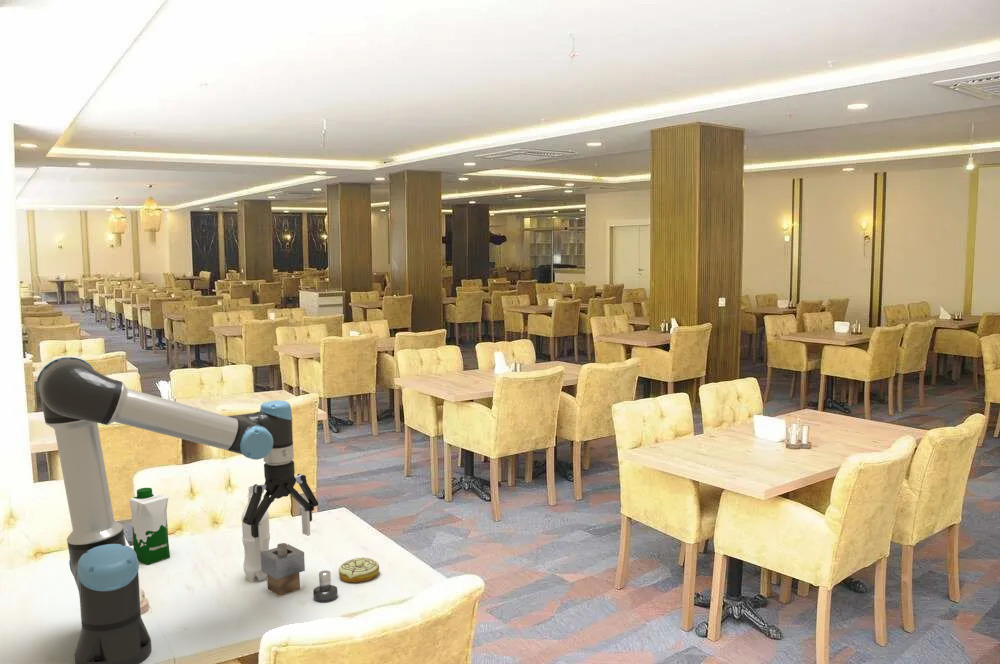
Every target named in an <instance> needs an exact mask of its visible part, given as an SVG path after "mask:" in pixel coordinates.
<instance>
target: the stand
mask: <svg viewBox="0 0 1000 664" xmlns="http://www.w3.org/2000/svg"><path fill="white" fill-rule="evenodd" d="M287 544H288V543H285V542H280V543H278V544H277V545H276V548H277V550H278V556H282V555H286V554H287ZM300 576H301V575H300V572H299V573H296V574H293V575H290V576H287V577H284V578H281V579H278V580H276V579H275V578H273V577H271V576H269V575H268V574H267V577H266V581H267V582H266V583H267V590H268V591H269V592H271V593H272V594H275V595H277V596H278V597H282V596H284V595H287V594H290V593H292V592H296V591H298V590H301V580H300V578H301V577H300Z"/></svg>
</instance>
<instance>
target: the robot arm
mask: <svg viewBox="0 0 1000 664" xmlns="http://www.w3.org/2000/svg"><path fill="white" fill-rule="evenodd" d="M36 389H37V392H38V394H39V396H40V400H41V401H40V402H41V407H42V412H43V418H44V424H46V425H47V426H49V427H50V428H51V429H52V428H53V430H54V434H55V438H56V445H57V451H58V455H59V461H60V466H61V472H62V473H61V474H62V478H63V484H64V489H65V495H66V500H67V506H68V511H69V516H70V522H71V527H72V531H71V532H70V533H69V535H68V536H67V538H66V542H67V548H68V553H69V562H68V564H69V568H70V572H71V575H72V576H73V579H74V581H75V584H76V586H77V587H76V588H77V590H78V595H79V607H80V609H79V610H80V620H81V621H80V622H81V623H80V624H81V630H80V634H79V637H78V641H77V644H76V647H75V651H74V657H73V659H74V664H140V663H141V662H143V661H144V660H146V659H147V658H148V657H149V655H150V654H151V653H152V640H151V639H152V638H151V637H150V634H149V631H148V629H147V627H146V625H145V623H144V621H143V618H142V615H141V614H142V613H141V597H140V595H141V594H140V580H139V570H140V562H139V561H138V559H137V554H136V552H135V551H134V548H133V547H131V546H128V545H127V543H126V538H125V532H124V527H123V524H121V523H120V522H118V521H116V520H115V517H114V511H113V507H112V506H113V505H112V501H111V495H110V494H111V493H110V490H109V489H110V487H109V482H108V477H107V471H106V465H105V464H106V463H105V459H104V453H103V447H102V443H101V442H102V441H101V436H100V430H99V425H98V424H101V425H105V426H108V425H111V424H113V423H116V424H120V425H121V424H122V425H124V426H130V427H134V428H138V429H140V430H141V429H142V430H145V431H149V432H153V433H157V434H161V435H165V436H168V437H169V436H170V437H173V438H177V439H181V440H185V441H190V442H192V443H197V444H201V445H205V446H208V447H212V448H217V449H220V450H225V451H229V452H232V453H235V454H239V455H243V456H244V457H246V458H247V459H250V460H257V461H258V460H261V459H263V462H264V464H263V473H264V475H263V476H264V480H265V481H264V483H263V484H257V483H256V484H253V485H252V486H253V495H252V497H251V500H250V503H249V505H248V508H247V511H246V513H245V516H244V519H243V522H244V523H245V524H248V525H251V535H252V537H254V538H255V548H257V549H259V550H263V539H262V525H261V524H259V522H260V521H261V519H262V517H263V516H264V514H265V513H266V511H267V510H268V509H269V508H270V506H271V504H272V503H273V502H274V501H275V499H277V500H278V499H281V498H285V497H286V498H287V497H288V496H289V495H290V496H291V497H292V498H293V499H294V500H295V501H297V503H299V505H301V506H302V509H300V510H301V512H300V513H301V529H302V534H303V535H305V536H311V522H312V520H313V511H314V510H315V507H318V506H319V502H318V500H317V498H316V496H315V494H314V493H313V491H312V490H311V487H310V486H309V485H308V482H307V481H308V480H307V477H306V475H305V474H302V473H297V475H296V476H295V473H296V472H295V461H294V458H295V455H294V454H295V453H294V441H293V438H294V437H293V435H294V434H293V413H292V408H291V404H290V402H288V401H286V400H270V401H266V402H263V403H262V404H261V405H260V409H259V411H256V412H251V413H250V412H249V413H242V414H234V415H224V414H220V413H216V412H213V411H210V410H205V409H202V408H199V407H194V406H192V405H189V404H188V405H187V404H185V403H182V402H181V403H180V402H179V401H178V402H177V401H174V400H171V399H167V398H163V397H159V396H156V395H153V394H149V393H145V392H141V391H138V390H135V389H131V388H127V387H126V385H125V383H124V382H123V381H121V380H117V379H114V378H111V377H108V376H107V375H103V374H102V373H100V372H99V371H96V370H95V369H94V368H93V367H92V365H91V364H90V363H88V362H87V361H86V360H84V359H82V358H79V357H73V356H65V357H63V356H62V357H59V358H58V357H57V358H55V359H53V360H51V361H50V362H48V363H47V364H46V365H45V366H44V367H42V369H41V370H40V372H39V374H38V375H37V378H36ZM296 483H297V484H298V486H299V487H300V489H301V491H302V492H303V494H304V496H305V498H306V499H305V498H304V497H303V496H302V495H301V494H300V493H299V491H298V490H296V489H295V488H294V487H295V484H296ZM264 493H265V494H264ZM263 494H264V495H263ZM262 496H263V498H262ZM260 500H262V502H261V503H260V505H259V502H260ZM258 505H259V506H258Z"/></svg>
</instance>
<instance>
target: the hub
mask: <svg viewBox="0 0 1000 664" xmlns="http://www.w3.org/2000/svg"><path fill="white" fill-rule="evenodd" d="M318 580H319V581H318V582H319V583H318V585H319V586H316V587H315V588H314V589H313V591H312V592H313V593H312V594H313V595H312V596H313V601H315V602H317V603H322V604H323V603H330V602H332V601H334V600H337V598H338V595H339V594H338V587H337V586H335V585H333V584H332V582H331V581H332V580H331V571H330V570H322V571H319V572H318Z"/></svg>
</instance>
